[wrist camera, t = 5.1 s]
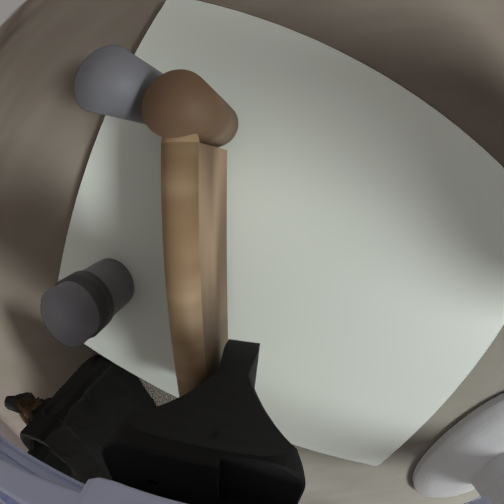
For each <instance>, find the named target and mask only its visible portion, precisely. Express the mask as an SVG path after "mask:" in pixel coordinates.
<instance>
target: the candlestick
mask: <svg viewBox="0 0 504 504" xmlns="http://www.w3.org/2000/svg"><path fill="white" fill-rule="evenodd" d="M413 484H414V487H415V489H416V491H417V492H418V493H420V494H421V495H424V496H428V497H436V498H443V497H451V496H456V495H460V494H463V493H466V492H469V491H471V490H474V489H476V490H477V491H478V493H479V494H480V495H481V498H483V497H485V496H488V497H489V499H490V502H491V504H504V393H502V394H500V395H498V396H496V397H494V398H493V399H491V400H489V401H488V402H486V403H484V404H483V405H481V406H480V407H478V408H477V409H475V410H474V411H472V412H471V413H470V414H468V415H467V416H465V417H464V418H463V419H461V420H460V421H459V422H458V423H456V424H455V425H454V426H453V427H451V428H450V429H449V430H448V431H447V432H446V433H444V434H443V435H442V436H441V437H440V438H439V439H438V440H437V441H436V442H435V443H434V444H433V445H432V446H431V447H430V448H429V449H428V450H427V452H426V453H425V454H424V455H423V457H422V458H421V459H420V461H419V462H418V464H417V466H416V468H415V470H414V473H413Z"/></svg>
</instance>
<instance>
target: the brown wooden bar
mask: <svg viewBox="0 0 504 504" xmlns="http://www.w3.org/2000/svg"><path fill="white" fill-rule="evenodd" d="M142 116H143V119H144V121H145V123H146V125H147V126H148V128H149V129H150V130H151V131H152V132H154V133H155V134H157V135H159V136H162V140H161V207H162V233H163V252H164V267H165V280H166V292H167V303H168V314H169V323H170V332H171V341H172V349H173V357H174V364H175V371H176V378H177V385H178V391H179V397H181V396H182V395H184V394H186V393H188V392H189V391H191V390H193V389H194V388H196V387H197V386H199V385H200V384H202V383H203V382H204V381H206V380H207V379H208V378H209V377H211V376H212V375H213V374H214V373H215V372H216V371H217V370H219V367H220V362H221V358H222V354H223V350H224V347H225V345H226V343H227V341H228V310H227V150H225V149H221V148H218V147H221V146H224V145H226V144H227V143H229V142H230V141H231V140H232V139H233V138H234V136H235V134H236V132H237V130H238V117H237V115H236V113H235V111H234V110H233V109H232V108H231V107H230V105H229V104H228V103H227V102H226V101H225V100H224V99H223V98H222V97H221V96H220V95H219V94H218V93H217V92H216V91H215V90H214V89H213V88H212V87H211V86H210V85H209V84H208V83H207V82H206V81H205V80H204V79H203V78H201V77H200V76H199V75H198V74H196V73H194V72H192V71H189V70H184V69H177V70H171V71H168V72H166V73H164V74H162V75H160V76H159V77H157V78H156V79H155V80H154V81H153V82H152V83H151V84H150V85H149V87H148V88H147V90H146V92H145V94H144V97H143V101H142Z"/></svg>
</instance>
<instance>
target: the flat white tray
mask: <svg viewBox="0 0 504 504" xmlns="http://www.w3.org/2000/svg"><path fill="white" fill-rule="evenodd" d="M177 69H184V70H189V71H192V72H194V73H196V74H198V75H199V76H200V77H201V78H203V79H204V80H205V81H206V82H207V83H208V84H209V85H210V86H211V87H212V88H213V89H214V90H215V91H216V92H217V93H218V94H219V95H220V96H221V97H222V98H223V99H224V100H225V101H226V102H227V103H228V104H229V105H230V107H231V108H232V109H233V110H234V111H235V113H236V115H237V117H238V130H237V132H236V134H235V136H234V138H233V139H232V140H231V141H230V142H229V143H227V144H226V145H224V146H221V147H218V148H221V149H225V150H227V310H228V340H229V339H232V340H239V341H246V342H254V343H260V349H259V357H258V366H257V374H256V382H255V391H256V393H257V395H258V397H259V399H260V402H261V403H262V405H263V407H264V409H265V411H266V412H267V414H268V415H269V417H270V418H271V420H272V421H273V423H274V424H275V426H276V427H277V428H278V429H279V431H280V432H281V433H282V434H283V436H284V437H285V438H286V439H287V440H288V441H289V442H290V443H291V444H293V445H296V446H299V447H303V448H306V449H309V450H313V451H316V452H320V453H323V454H327V455H331V456H335V457H339V458H343V459H347V460H351V461H355V462H360V463H365V464H369V465H374V466H378V465H379V464H380V463H382V462H383V461H384V460H385V459H386V458H388V457H389V456H390V455H391V454H392V453H393V452H395V451H396V450H397V449H398V448H399V447H400V446H401V445H402V444H403V443H405V442H406V441H407V440H408V439H409V438H410V437H411V436H412V435H413V434H414V433H415V432H416V431H417V430H418V429H419V428H420V427H421V426H422V425H423V424H424V423H425V422H426V421H427V420H428V419H429V418H430V417H431V416H432V415H433V414H434V413H435V412H436V411H437V410H438V409H439V408H440V407H441V405H442V404H443V403H444V402H445V401H446V400H447V399H448V398H449V397H450V395H451V394H452V393H453V392H454V391H455V390H456V388H457V387H458V386H459V385H460V384H461V382H462V381H463V380H464V379H465V378H466V376H467V375H468V374H469V373H470V371H471V370H472V369H473V367H474V366H475V365H476V363H477V362H478V361H479V359H480V358H481V357H482V355H483V354H484V353H485V351H486V350H487V348H488V347H489V346H490V344H491V343H492V341H493V340H494V338H495V337H496V335H497V334H498V332H499V331H500V329H501V328H502V326H503V325H504V168H503V167H502V166H501V165H500V164H499V163H498V162H497V161H496V160H495V159H494V158H493V157H492V156H491V155H490V154H489V153H488V152H487V151H485V150H484V149H483V148H482V147H481V146H480V145H479V144H478V143H476V142H475V141H474V140H473V139H472V138H471V137H469V136H468V135H467V134H466V133H465V132H463V131H462V130H461V129H460V128H459V127H457V126H456V125H455V124H454V123H452V122H451V121H450V120H448V119H447V118H446V117H445V116H443V115H442V114H441V113H439V112H438V111H437V110H435V109H434V108H432V107H431V106H430V105H428V104H427V103H425V102H424V101H423V100H421V99H420V98H418V97H417V96H415V95H414V94H412V93H411V92H409V91H408V90H406V89H405V88H403V87H402V86H400V85H398V84H397V83H395V82H394V81H392V80H390V79H389V78H387V77H385V76H384V75H382V74H380V73H379V72H377V71H375V70H374V69H372V68H370V67H368V66H366V65H365V64H363V63H361V62H359V61H357V60H355V59H353V58H352V57H350V56H348V55H346V54H344V53H342V52H340V51H338V50H336V49H334V48H332V47H329V46H327V45H325V44H323V43H321V42H319V41H316V40H314V39H312V38H310V37H307V36H305V35H303V34H300V33H298V32H295V31H293V30H290V29H288V28H285V27H283V26H280V25H277V24H275V23H272V22H269V21H266V20H263V19H261V18H258V17H255V16H251V15H248V14H245V13H242V12H239V11H235V10H232V9H228V8H225V7H221V6H217V5H213V4H209V3H205V2H201V1H197V0H167V1H166V2H165V4H164V5H163V7H162V8H161V10H160V11H159V13H158V14H157V16H156V18H155V19H154V21H153V23H152V24H151V26H150V28H149V29H148V31H147V33H146V34H145V36H144V38H143V40H142V41H141V43H140V45H139V47H138V49H137V51H136V52H135V54H132V53H131V52H129V51H128V50H126V49H124V48H123V47H121V46H117V45H108V46H104V47H101V48H99V49H97V50H96V51H94V52H93V53H91V54H90V55H89V56H88V57H87V58H86V59H85V60H84V62H83V63H82V65H81V66H80V68H79V70H78V72H77V74H76V77H75V82H74V95H75V99H76V101H77V103H78V104H79V106H80V107H81V108H82V109H84V110H86V111H88V112H93V113H98V114H102V115H106V116H105V118H104V120H103V123H102V125H101V128H100V130H99V133H98V136H97V138H96V141H95V144H94V146H93V149H92V152H91V155H90V158H89V160H88V163H87V166H86V169H85V172H84V176H83V179H82V182H81V185H80V188H79V192H78V195H77V199H76V202H75V206H74V210H73V213H72V217H71V221H70V225H69V229H68V233H67V238H66V242H65V247H64V251H63V256H62V261H61V266H60V272H59V278H58V282H57V284H56V285H55V287H53V288H51V289H50V290H48V291H47V292H45V293H44V295H43V296H42V299H41V306H40V307H41V314H42V318H43V320H44V323H45V325H46V327H47V328H48V330H49V331H50V333H51V334H52V335H53V336H54V337H55V338H56V339H57V340H58V341H59V342H61V343H62V344H64V345H66V346H69V347H80V346H81V345H83V344H85V345H87V346H88V347H90V348H91V349H93V350H94V351H96V352H97V353H99V354H101V355H102V356H104V357H105V358H107V359H109V360H110V361H112V362H113V363H115V364H117V365H118V366H120V367H122V368H124V369H125V370H127V371H129V372H130V373H132V374H134V375H136V376H137V377H139V378H141V379H143V380H145V381H146V382H148V383H150V384H152V385H154V386H156V387H158V388H159V389H161V390H163V391H165V392H167V393H169V394H171V395H173V396H175V397H177V398H179V391H178V385H177V378H176V371H175V364H174V357H173V349H172V341H171V332H170V323H169V314H168V303H167V292H166V280H165V267H164V252H163V233H162V207H161V140H162V136H159V135H157V134H155V133H154V132H152V131H151V130H150V129H149V128H148V126H147V125H146V123H145V121H144V119H143V116H142V101H143V97H144V94H145V92H146V90H147V88H148V87H149V85H150V84H151V83H152V82H153V81H154V80H155V79H156V78H157V77H159V76H160V75H162V74H164V73H166V72H168V71H171V70H177Z"/></svg>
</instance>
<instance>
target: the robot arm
mask: <svg viewBox="0 0 504 504" xmlns="http://www.w3.org/2000/svg"><path fill="white" fill-rule="evenodd" d="M259 349H260V343H254V342H246V341H239V340H232V339H229V340H228V341H227V343H226V345H225V347H224V350H223V354H222V358H221V362H220V367H219V370H217V371H216V372H215V373H214V374H213V375H212V376H211V377H209V378H208V379H207V380H206V381H204V382H203V383H202V384H200V385H199V386H197V387H196V388H194V389H193V390H191V391H189V392H188V393H186V394H184V395H182V396H181V397H179V398H177V399H175V400H173V401H170V402H168V403H166V404H163V405H161V406H158V407H155V408H152V409H149V410H145V411H142V412H138V413H134V414H130V415H125V416H124V417H123V419H122V420H121V421H120V422H119V423H118V424H117V425H116V427H115V428H114V429H113V431H112V432H111V434H110V435H109V437H108V438H107V440H106V442H105V443H104V445H103V447H102V450H101V452H102V456H103V459H104V462H105V464H106V466H107V468H108V471H109V473H110V475H111V477H112V480H108V479H104V478H93V479H88V481H87V482H86V484H84V483H82V482H79V481H77V480H75V479H73V478H71V477H69V476H67V475H65V474H63V473H61V472H60V471H58V470H56V469H54V468H52V467H50V466H49V465H47V464H45V463H43V462H42V461H40V460H38V459H36V458H35V457H33V456H31V455H30V454H28V453H27V452H25V451H23V450H22V449H20V448H19V447H17V446H16V445H14V444H13V443H11V442H10V441H8V440H7V439H5V438H4V437H2V436H1V435H0V504H298V502H299V500H300V498H301V496H302V494H303V492H304V489H305V476H304V470H303V466H302V463H301V459H300V456H299V454H298V451H297V449H296V448H295V447H294V446H293V445H292V444H291V443H290V442H289V441H288V440H287V439H286V438H285V437H284V436H283V434H282V433H281V432H280V431H279V429H278V428H277V427H276V426H275V424H274V423H273V421H272V420H271V418H270V417H269V415H268V414H267V412H266V411H265V409H264V407H263V405H262V403H261V402H260V399H259V397H258V395H257V393H256V391H255V382H256V374H257V366H258V357H259ZM465 504H491V502H490V499H489V497H488V496H485V497H483V498H480V499H477V500H474V501H470V502H467V503H465Z"/></svg>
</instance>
